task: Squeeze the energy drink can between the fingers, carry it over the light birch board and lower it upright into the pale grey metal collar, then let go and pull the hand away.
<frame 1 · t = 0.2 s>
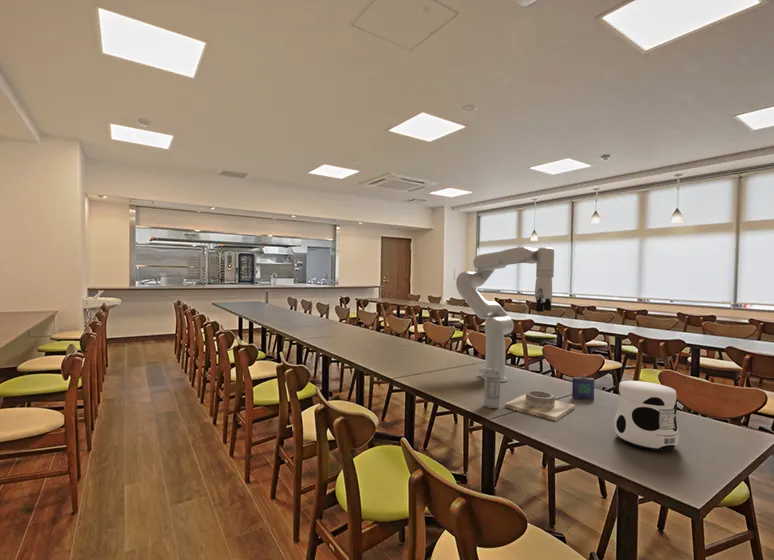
hand: (543, 311, 182), 37 cm above the table, tool pointing down, fingers open, 9 cm apart
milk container: (644, 443, 125), on the table
flask: (583, 399, 170), on the table
energy drink can: (491, 407, 156), on the table
collar board: (539, 408, 156), on the table
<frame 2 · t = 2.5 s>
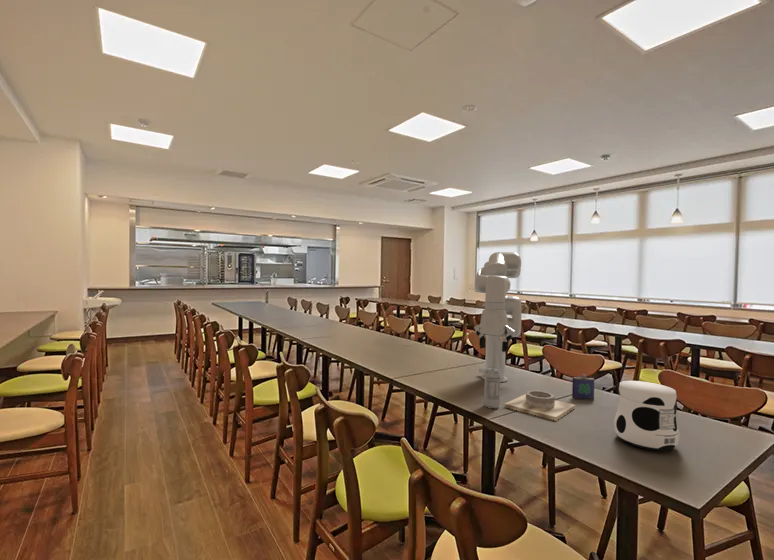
hand: (493, 349, 156), 23 cm above the table, tool pointing down, fingers open, 9 cm apart
nothing on the table moved.
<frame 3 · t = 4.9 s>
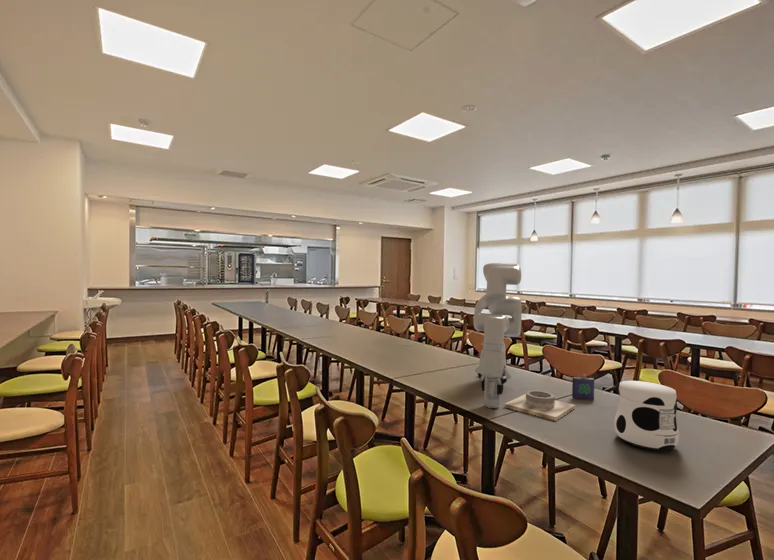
hand: (492, 391, 156), 6 cm above the table, tool pointing down, fingers closed on energy drink can, 5 cm apart
energy drink can: (491, 407, 156), on the table, touching gripper
everything else where it was.
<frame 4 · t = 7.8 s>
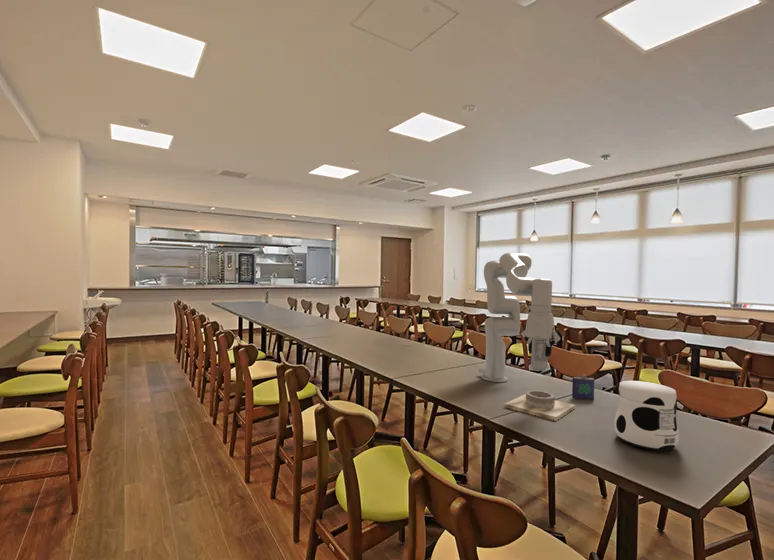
hand: (539, 354, 156), 21 cm above the table, tool pointing down, fingers closed on energy drink can, 5 cm apart
energy drink can: (538, 369, 156), point 15 cm above the table, touching gripper
everything else where it was.
when the fingers open (9 cm above the table, at t = 11.1 s): energy drink can drops 2 cm, resting on collar board.
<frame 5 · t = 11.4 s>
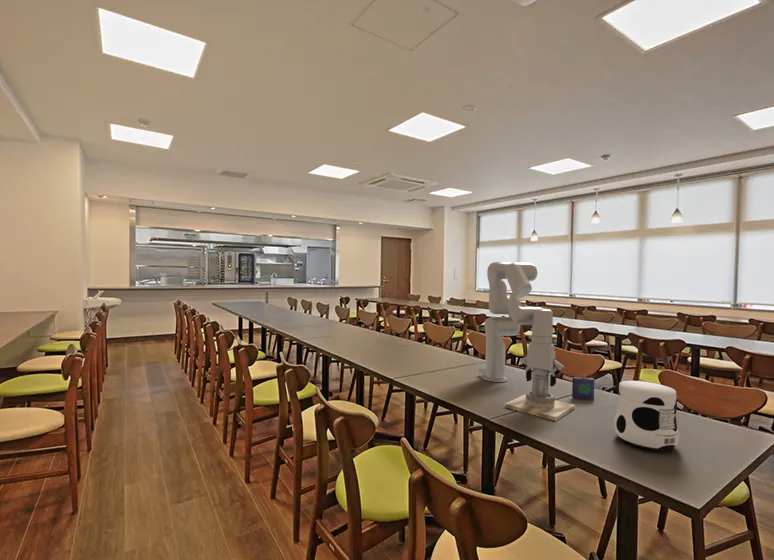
hand: (540, 383, 156), 10 cm above the table, tool pointing down, fingers open, 9 cm apart
energy drink can: (539, 404, 156), point 1 cm above the table, touching collar board
everything else where it was.
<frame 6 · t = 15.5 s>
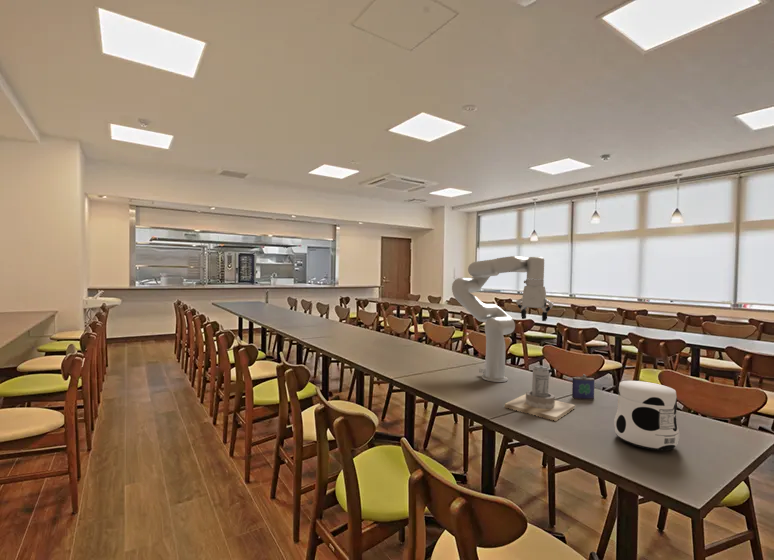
hand: (533, 319, 184), 32 cm above the table, tool pointing down, fingers open, 9 cm apart
nothing on the table moved.
at the end: energy drink can 0.1 cm off-centre on the collar board, point 1.3 cm above the collar board's base; energy drink can tilted 0°; the gripper is holding nothing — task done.
